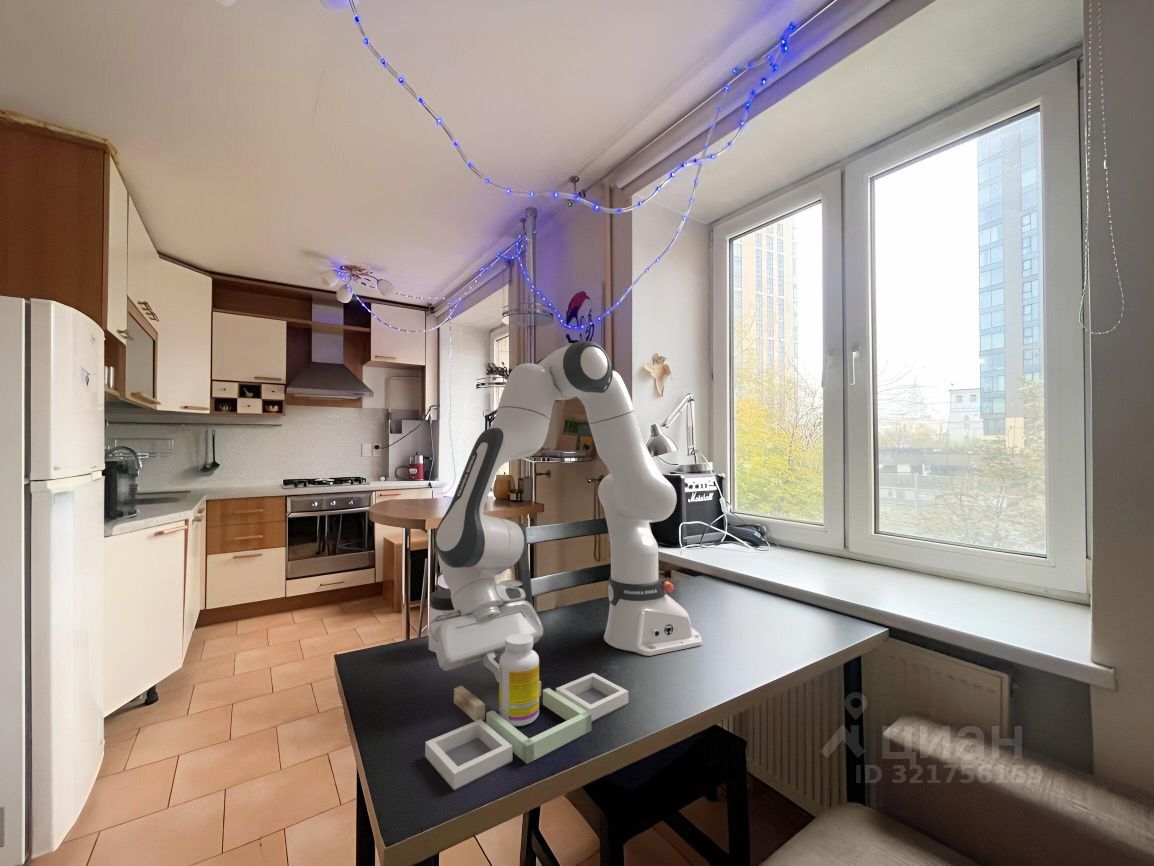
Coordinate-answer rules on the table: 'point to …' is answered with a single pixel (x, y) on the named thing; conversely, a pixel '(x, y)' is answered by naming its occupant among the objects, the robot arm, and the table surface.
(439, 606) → the jar
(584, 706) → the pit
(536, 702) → the supplement bottle
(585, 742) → the table surface
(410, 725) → the table surface
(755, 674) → the table surface
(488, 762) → the tray
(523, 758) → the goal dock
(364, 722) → the table surface
